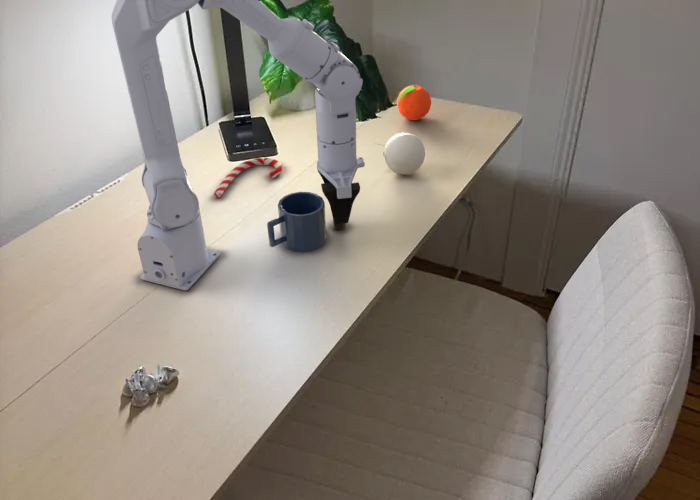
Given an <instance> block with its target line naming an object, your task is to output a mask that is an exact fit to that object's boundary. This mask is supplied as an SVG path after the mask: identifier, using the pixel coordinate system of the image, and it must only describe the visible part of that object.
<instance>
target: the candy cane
mask: <svg viewBox="0 0 700 500" xmlns="http://www.w3.org/2000/svg"><path fill="white" fill-rule="evenodd" d="M263 165H264V166H271V167H274V168H275V169H273V170H272V171H270V172H269V173H268V175H269V178H270V179H275V178H276V177H277V176H279V175H280V174H281V173H282V170H283V166H282V163H281V162H280V161H279V160H277V159H274V158H271V157H255V158H250V159H248V160H245V161H243V162H241V163H239V164H238V165H237V166H235V167H233V169H231V171H229V172H228V173H227V175H226V176H225V177H224V178H223V179H222V181H220V183H219V185H218V186H217V188H216V189H215V191H214V193H213V196H214V198H216V199H220V198H221V197H222V196H223V194H224V192H225V191H226V189H228V187H229V186H230V184H231V183H232V182H233V181H234V179H235V178H236V177H238V175H240V173H242V172H243V171H245V170H247V169H249V168H252V167H255V166H263Z"/></svg>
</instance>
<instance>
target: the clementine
mask: <svg viewBox="0 0 700 500" xmlns="http://www.w3.org/2000/svg"><path fill="white" fill-rule="evenodd" d="M396 104H397V105H396V106H397V110H398V112H399V114H401V116H402V117H404V118H405V119H407V120H410V121H419V120H421V119H423V118H424V117H425V116H427V114H428V113H429V112H430V110H431V107H432V99H431V95H430V92H428V90H427V89H426V88H424V87H422V86H421V85H418V84H411V85H408V86H406V87H404V88H403V89H402V90H401V91H400V92H399V94H398V97H397V100H396Z"/></svg>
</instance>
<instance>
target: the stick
mask: <svg viewBox="0 0 700 500" xmlns="http://www.w3.org/2000/svg"><path fill="white" fill-rule="evenodd" d="M332 225H333V226H332V227H333V229H334V230H335V231H344V230H345V229H346V228H347V223H343V224H335V223H334V220H333V219H332Z"/></svg>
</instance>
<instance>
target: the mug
mask: <svg viewBox="0 0 700 500" xmlns="http://www.w3.org/2000/svg"><path fill="white" fill-rule="evenodd" d="M325 203H326V202H325V200H324V198H323V197H322V196H320V195H319V194H318V193H315V192H311V191H297V192H291V193H288V194H286V195H284V196H283V197H281V198H280V199H279V201H278V203H277V213H278V217H276V218H274V219H271V220H269V221H268V222H267V223H266V226H267V235H268V244H269V245H268V246H269V247H270V248H275V247H276V246H279V245H281V244H282V246H283V247H284V248H286V249H287V250H289V251H292V252H296V253H297V252H298V253H307V252H312V251H315V250H317V249H320V248H321V247H322V246H323V245H324V244H325V242H326V240H327V226H326V225H327V223H326V205H325ZM277 225H279V234H280V237H278V238H276V237H275V228H274V227H275V226H277Z"/></svg>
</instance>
